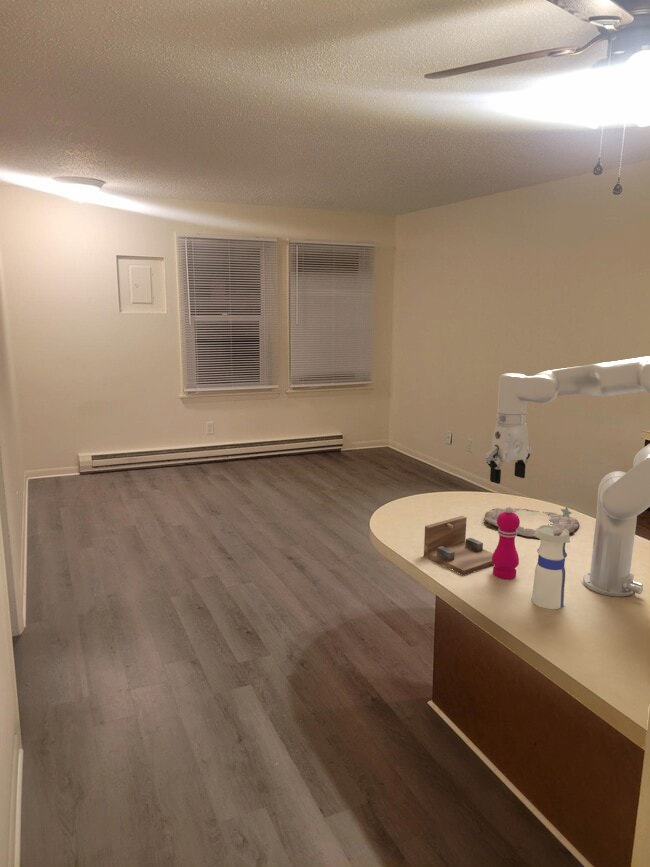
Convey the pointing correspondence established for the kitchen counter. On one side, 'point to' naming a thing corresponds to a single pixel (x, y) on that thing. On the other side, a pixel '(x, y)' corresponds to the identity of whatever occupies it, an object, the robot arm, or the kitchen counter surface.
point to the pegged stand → (455, 546)
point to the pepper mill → (506, 546)
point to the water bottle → (550, 567)
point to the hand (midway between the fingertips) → (507, 479)
